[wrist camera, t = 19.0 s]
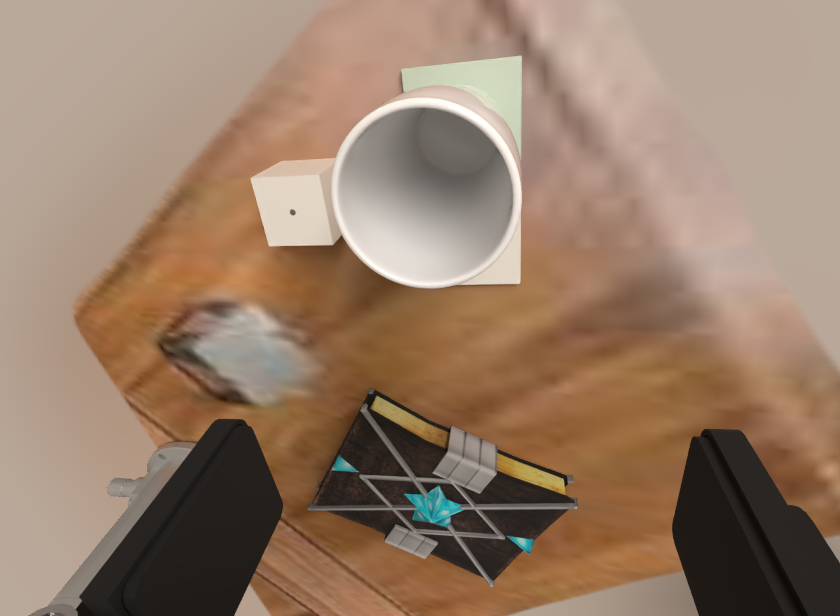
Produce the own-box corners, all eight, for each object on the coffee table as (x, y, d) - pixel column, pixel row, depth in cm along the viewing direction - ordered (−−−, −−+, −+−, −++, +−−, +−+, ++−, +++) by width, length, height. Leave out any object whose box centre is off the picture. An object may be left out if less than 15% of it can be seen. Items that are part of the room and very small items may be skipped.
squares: (426, 282, 35) (425, 285, 34) (402, 68, 27) (401, 69, 27) (520, 281, 33) (520, 283, 33) (521, 55, 26) (521, 55, 26)
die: (295, 223, 34) (268, 247, 30) (281, 160, 32) (249, 178, 28) (353, 221, 33) (332, 246, 29) (342, 157, 31) (318, 174, 27)
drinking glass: (407, 66, 27) (319, 87, 14) (523, 72, 26) (541, 101, 13) (404, 180, 30) (331, 281, 18) (507, 189, 30) (509, 302, 17)
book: (318, 482, 50) (300, 523, 46) (369, 379, 41) (352, 419, 37) (493, 557, 52) (492, 603, 47) (579, 474, 43) (586, 522, 38)
